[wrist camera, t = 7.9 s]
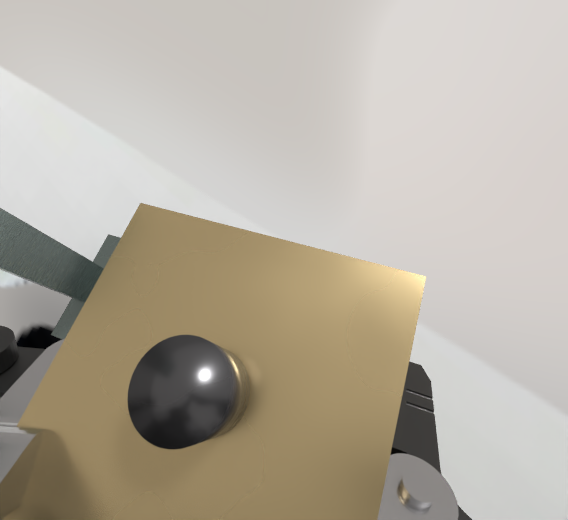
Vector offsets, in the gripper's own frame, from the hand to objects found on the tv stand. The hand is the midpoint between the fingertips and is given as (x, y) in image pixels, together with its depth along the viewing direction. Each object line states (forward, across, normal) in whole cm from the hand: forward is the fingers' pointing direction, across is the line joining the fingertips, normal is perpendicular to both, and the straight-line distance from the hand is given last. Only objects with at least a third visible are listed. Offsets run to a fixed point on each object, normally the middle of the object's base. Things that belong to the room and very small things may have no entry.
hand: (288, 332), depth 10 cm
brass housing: (+2, 0, +5) cm, 5 cm away
